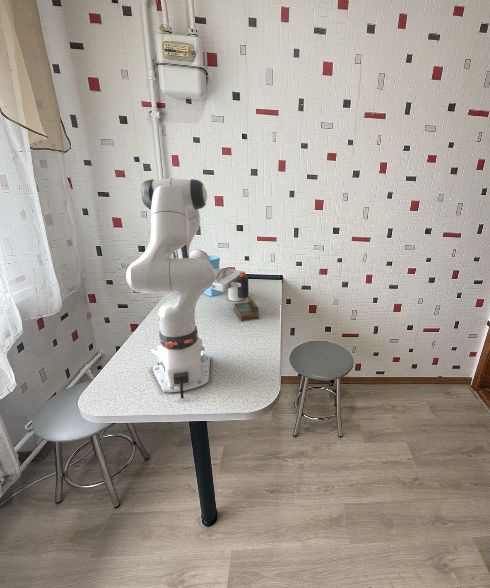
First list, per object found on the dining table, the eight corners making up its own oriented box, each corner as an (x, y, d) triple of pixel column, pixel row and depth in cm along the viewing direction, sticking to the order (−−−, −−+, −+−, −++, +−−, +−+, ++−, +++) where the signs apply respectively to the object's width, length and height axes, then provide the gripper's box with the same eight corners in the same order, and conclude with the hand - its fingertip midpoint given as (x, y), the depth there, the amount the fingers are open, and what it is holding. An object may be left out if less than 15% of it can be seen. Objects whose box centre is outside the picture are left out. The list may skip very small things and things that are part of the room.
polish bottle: (249, 297, 154) (249, 273, 150) (239, 299, 152) (238, 274, 148) (247, 293, 158) (246, 270, 154) (236, 295, 156) (235, 271, 152)
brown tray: (258, 318, 155) (258, 306, 153) (241, 321, 152) (241, 309, 149) (250, 307, 167) (249, 296, 164) (234, 309, 163) (233, 298, 161)
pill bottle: (246, 299, 175) (245, 273, 169) (231, 302, 170) (230, 275, 165) (240, 294, 181) (239, 268, 175) (226, 297, 176) (224, 270, 171)
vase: (202, 293, 180) (199, 257, 173) (213, 289, 186) (211, 255, 179) (211, 296, 176) (209, 260, 169) (223, 292, 182) (221, 257, 175)
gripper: (204, 279, 145) (233, 283, 142) (228, 266, 163) (253, 270, 160) (205, 292, 147) (234, 297, 144) (228, 278, 166) (254, 282, 163)
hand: (244, 282), depth 152 cm, fingers closed on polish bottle, 5 cm apart
